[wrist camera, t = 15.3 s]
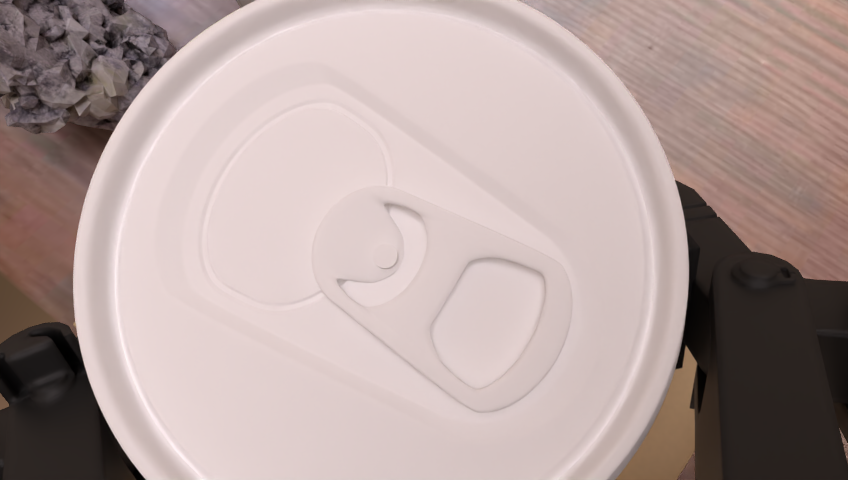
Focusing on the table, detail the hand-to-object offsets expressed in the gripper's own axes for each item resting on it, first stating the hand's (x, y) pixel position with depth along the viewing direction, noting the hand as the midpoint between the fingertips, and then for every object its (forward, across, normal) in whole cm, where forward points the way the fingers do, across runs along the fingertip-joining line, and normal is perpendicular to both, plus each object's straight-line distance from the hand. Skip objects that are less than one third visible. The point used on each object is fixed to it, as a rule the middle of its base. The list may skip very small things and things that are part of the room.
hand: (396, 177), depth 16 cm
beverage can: (0, 0, -5) cm, 5 cm away
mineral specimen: (+18, -16, -1) cm, 24 cm away
